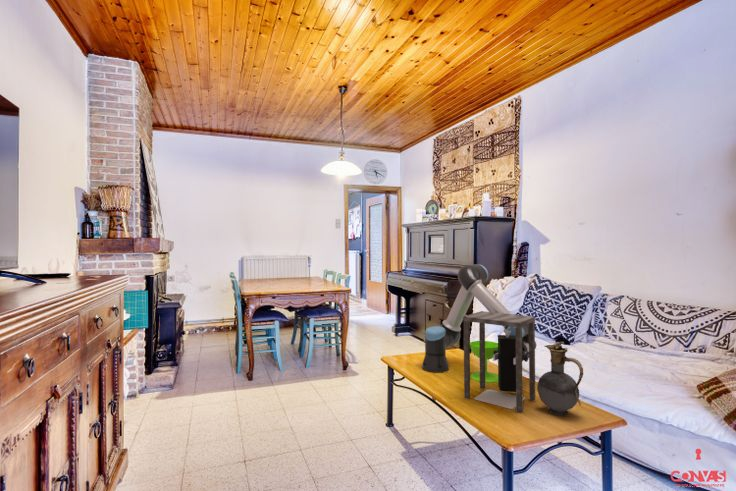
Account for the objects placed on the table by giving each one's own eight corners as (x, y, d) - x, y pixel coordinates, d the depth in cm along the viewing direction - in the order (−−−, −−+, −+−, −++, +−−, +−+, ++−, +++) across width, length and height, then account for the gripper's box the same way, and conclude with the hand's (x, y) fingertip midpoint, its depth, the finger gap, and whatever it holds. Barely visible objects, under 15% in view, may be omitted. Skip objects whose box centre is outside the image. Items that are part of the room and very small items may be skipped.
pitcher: (550, 403, 175) (549, 336, 175) (591, 419, 158) (590, 345, 158) (533, 408, 170) (532, 339, 170) (574, 425, 153) (573, 348, 153)
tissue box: (518, 392, 180) (517, 332, 180) (500, 391, 181) (499, 331, 182) (515, 386, 188) (514, 328, 188) (497, 385, 189) (497, 328, 189)
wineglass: (501, 384, 200) (500, 348, 200) (468, 380, 205) (468, 346, 205) (501, 374, 215) (500, 341, 215) (471, 371, 220) (470, 339, 220)
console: (463, 398, 181) (463, 316, 181) (482, 386, 196) (481, 311, 197) (520, 413, 164) (519, 323, 164) (535, 399, 179) (534, 316, 180)
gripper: (542, 361, 192) (527, 372, 174) (499, 353, 205) (481, 363, 188) (542, 345, 192) (527, 355, 174) (499, 339, 205) (481, 347, 188)
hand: (503, 359), depth 181 cm, fingers closed on tissue box, 9 cm apart
